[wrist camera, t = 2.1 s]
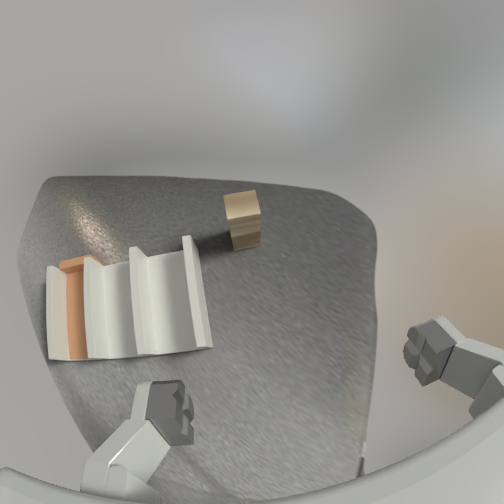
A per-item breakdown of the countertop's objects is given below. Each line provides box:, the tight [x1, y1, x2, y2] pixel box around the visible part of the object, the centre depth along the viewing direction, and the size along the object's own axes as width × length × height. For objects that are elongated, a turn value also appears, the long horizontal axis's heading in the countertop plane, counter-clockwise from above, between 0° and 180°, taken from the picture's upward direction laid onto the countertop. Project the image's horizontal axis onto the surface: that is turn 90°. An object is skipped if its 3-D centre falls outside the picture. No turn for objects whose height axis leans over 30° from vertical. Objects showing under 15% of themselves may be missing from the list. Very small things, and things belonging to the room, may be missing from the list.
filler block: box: [224, 190, 261, 251], centre depth 34 cm, size 3×4×9 cm
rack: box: [46, 235, 213, 361], centre depth 33 cm, size 14×22×5 cm, turn 101°
